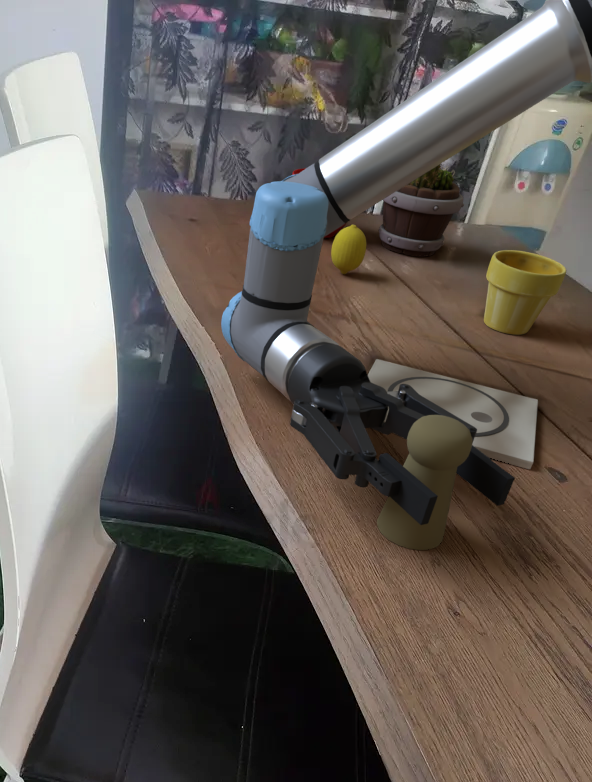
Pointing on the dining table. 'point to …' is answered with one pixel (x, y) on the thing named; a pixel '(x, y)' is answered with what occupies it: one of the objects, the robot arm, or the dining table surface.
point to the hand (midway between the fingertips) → (468, 501)
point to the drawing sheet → (473, 410)
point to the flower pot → (519, 289)
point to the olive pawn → (428, 480)
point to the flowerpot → (420, 213)
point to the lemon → (348, 249)
